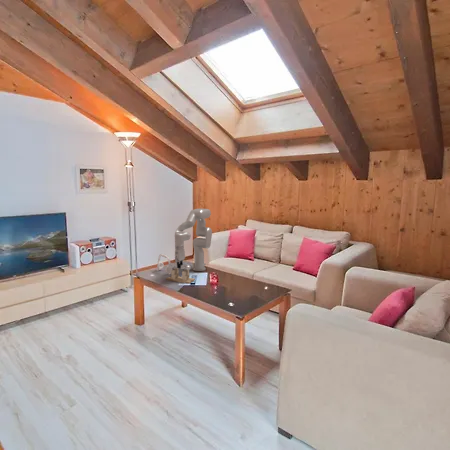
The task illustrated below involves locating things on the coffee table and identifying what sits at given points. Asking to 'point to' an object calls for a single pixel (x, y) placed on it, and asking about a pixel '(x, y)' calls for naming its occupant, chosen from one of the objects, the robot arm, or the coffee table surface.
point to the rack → (178, 278)
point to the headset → (160, 265)
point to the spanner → (186, 267)
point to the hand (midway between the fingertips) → (179, 267)
